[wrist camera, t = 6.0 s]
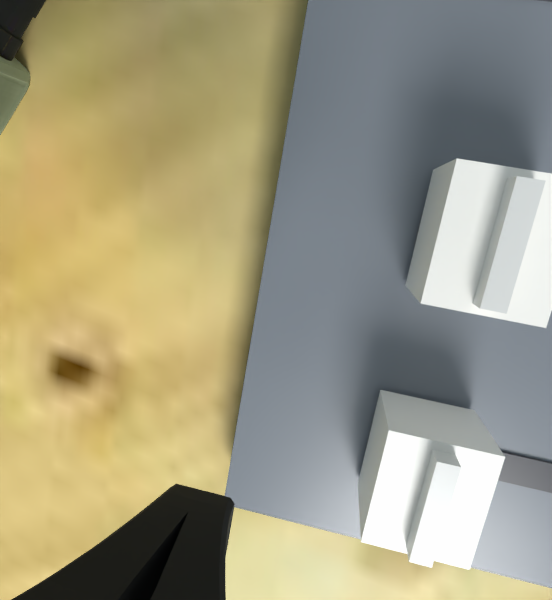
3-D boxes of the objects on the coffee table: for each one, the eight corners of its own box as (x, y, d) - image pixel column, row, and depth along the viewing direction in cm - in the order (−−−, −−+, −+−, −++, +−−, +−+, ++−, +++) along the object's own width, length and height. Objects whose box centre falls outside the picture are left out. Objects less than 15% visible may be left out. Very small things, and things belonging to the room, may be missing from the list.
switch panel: (935, -105, 12) (1066, -175, 10) (649, 575, 17) (694, 629, 15) (344, -158, 14) (345, -226, 12) (235, 473, 18) (221, 508, 16)
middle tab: (539, 187, 13) (608, 177, 9) (505, 304, 13) (557, 334, 10) (433, 169, 13) (463, 155, 10) (405, 285, 14) (424, 308, 11)
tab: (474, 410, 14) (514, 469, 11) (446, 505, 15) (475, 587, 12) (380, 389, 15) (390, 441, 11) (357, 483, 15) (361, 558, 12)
